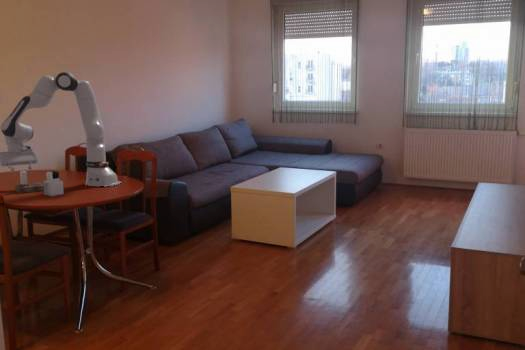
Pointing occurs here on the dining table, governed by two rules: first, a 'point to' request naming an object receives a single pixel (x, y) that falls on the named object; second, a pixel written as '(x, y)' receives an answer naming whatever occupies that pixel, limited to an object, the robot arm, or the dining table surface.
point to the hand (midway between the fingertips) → (21, 169)
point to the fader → (23, 178)
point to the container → (53, 184)
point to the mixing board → (30, 188)
